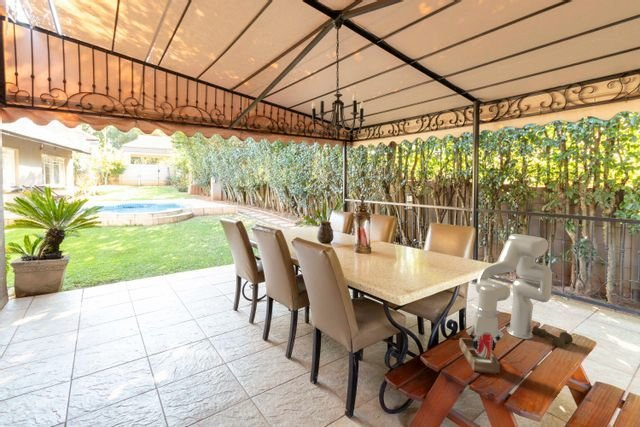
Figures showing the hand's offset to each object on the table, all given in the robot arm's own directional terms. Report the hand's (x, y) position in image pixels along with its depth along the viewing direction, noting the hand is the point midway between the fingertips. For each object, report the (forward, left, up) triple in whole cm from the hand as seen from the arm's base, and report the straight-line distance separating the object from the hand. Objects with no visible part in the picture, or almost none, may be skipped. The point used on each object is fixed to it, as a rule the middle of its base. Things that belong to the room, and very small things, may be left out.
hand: (483, 348), depth 143 cm
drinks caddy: (-5, 0, -9) cm, 10 cm away
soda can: (0, 0, -4) cm, 4 cm away
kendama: (-28, +48, -9) cm, 56 cm away
